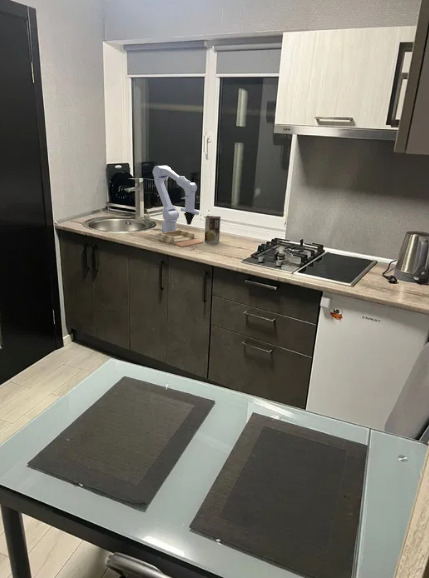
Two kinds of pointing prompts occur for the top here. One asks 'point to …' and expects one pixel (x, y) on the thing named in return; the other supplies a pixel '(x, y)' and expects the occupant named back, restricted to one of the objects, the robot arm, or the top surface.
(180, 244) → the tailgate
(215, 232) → the coffee box
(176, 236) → the cart bed
